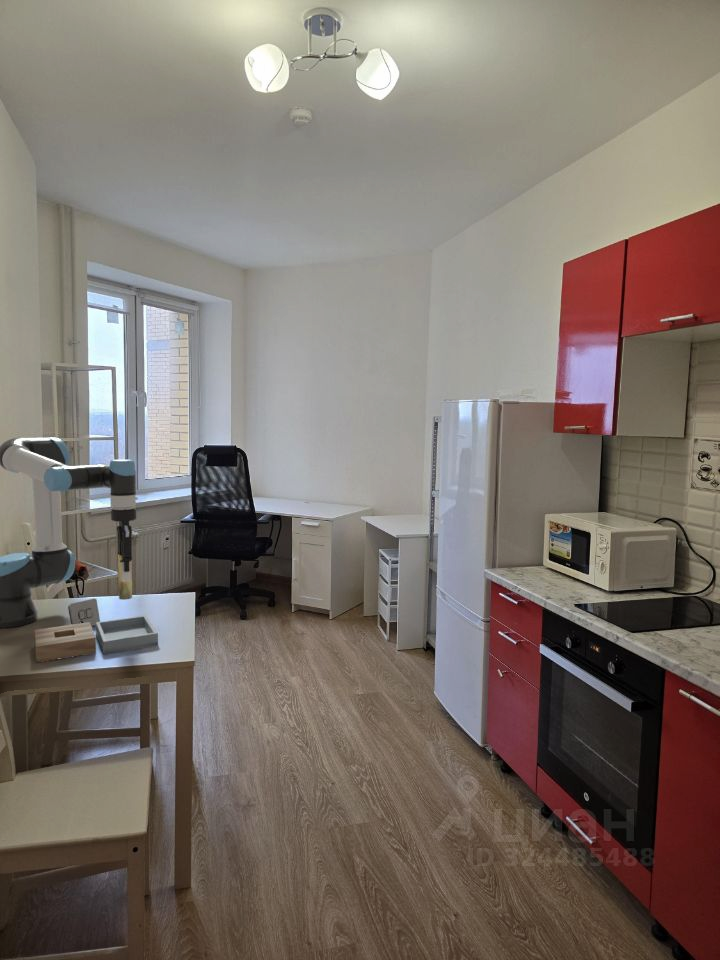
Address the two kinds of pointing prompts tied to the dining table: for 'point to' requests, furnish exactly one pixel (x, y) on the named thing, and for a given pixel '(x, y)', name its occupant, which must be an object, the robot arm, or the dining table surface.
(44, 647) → the block
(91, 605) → the electrical switch
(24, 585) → the robot arm
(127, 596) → the pin
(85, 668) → the dining table surface
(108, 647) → the tray
